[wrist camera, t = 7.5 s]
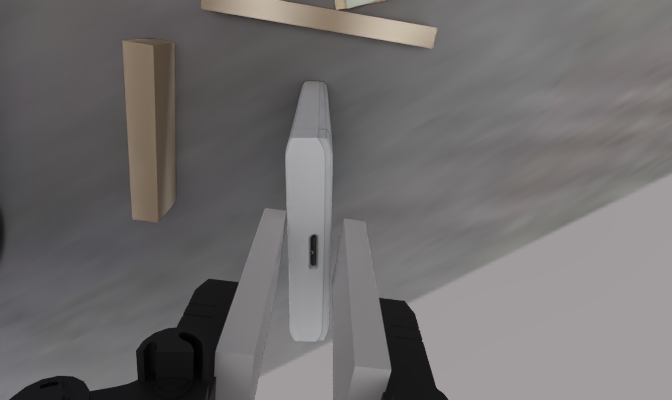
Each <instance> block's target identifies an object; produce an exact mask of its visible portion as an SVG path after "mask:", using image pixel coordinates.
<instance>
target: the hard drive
mask: <svg viewBox="0 0 672 400" xmlns="http://www.w3.org/2000/svg"><path fill="white" fill-rule="evenodd" d="M285 168H286V207H287V238H288V275H289V324H290V333H291V336H292V338H293V339H294V340H295V341H323V340H324V338H325V336H326V334H327V331H328V323H329V298H330V259H331V216H332V175H333V151H332V134H331V123H330V112H329V101H328V90H327V86H326V84H325V82H319V81H305V82H304V84H303V86H302V90H301V94H300V97H299V101H298V105H297V109H296V113H295V117H294V121H293V125H292V129H291V133H290V137H289V140H288V144H287V147H286V154H285Z"/></svg>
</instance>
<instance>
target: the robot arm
mask: <svg viewBox="0 0 672 400" xmlns="http://www.w3.org/2000/svg"><path fill="white" fill-rule="evenodd" d="M286 212H287V211H284V210H277V209H269V208H265V209H264V211H263V214H262V217H261V220H260V223H259V226H258V229H257V232H256V235H255V238H254V241H253V243H252V246H251V249H250V252H249V255H248V258H247V261H246V264H245V267H244V270H243V273H242V275H241V278H240V281H239V282H231V281H223V280H215V279H208V280H207V281H205V282H204V283H203V284H202V285H200V286H199V287H198V288H197V289H196V290H195V292H194V294H193V296H192V298H191V300H190V302H189V305H188V306H187V308H186V310H185V312H184V314H183V317H182V318H181V320H180V322H179V324H178V326H177V328H167V329H165V330H162V331H159V332H156V333H154V334H152V335H151V336H150V337H148V338H147V339H145V340H144V341H143V342H142V343H141V345H140V346H139V348H138V349H137V350H136V356H137V372H138V380H136V381H134V382H131V383H129V384H126V385H122V386H118V387H112V388H106V389H100V390H94V391H89V389H88V387H87V386H86V384H85V383H84V381H82V380H79V379H77V378H75V377H71V376H56V377H51V378H47V379H42V380H40V381H38V382H36V383H33V384H31V385H29V386H27V387H25V388H24V389H22V390H21V391H20V392H18V393H17V394H16V395H15V396H13V397H12V398H11V399H10V400H254V399H255V394H256V389H257V384H258V379H259V374H260V369H261V364H262V358H263V353H264V348H265V343H266V338H267V333H268V328H269V323H270V318H271V313H272V308H273V303H274V298H275V293H276V288H277V283H278V278H279V270H280V262H281V254H282V245H283V237H284V228H285V220H286ZM332 313H333V400H448V398H447V397H446V396H445V395H444V394H443V393H442V392H441V391H439V390H438V389H437V388H436V385H435V382H434V379H433V375H432V371H431V368H430V365H429V361H428V358H427V355H426V351H425V347H424V344H423V342H422V337H421V334H420V330H419V327H418V324H417V320H416V316H415V313H414V312H413V311H412V310H411V309H410V307H409V306H408V305H407V304H406V302H405V301H400V300H392V299H384V298H379V296H378V291H377V285H376V280H375V274H374V268H373V263H372V257H371V251H370V246H369V240H368V234H367V229H366V223H365V221H359V220H351V219H344V221H343V227H342V232H341V237H340V243H339V248H338V253H337V259H336V264H335V270H334V275H333V280H332Z"/></svg>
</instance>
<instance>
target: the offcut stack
mask: <svg viewBox="0 0 672 400" xmlns="http://www.w3.org/2000/svg"><path fill="white" fill-rule="evenodd" d="M334 1H335V7H336V10H340V9H345V8H347V9H349V8H353V7H357V6H361V5H366V4H371V3H376V2H382V1H387V0H334Z"/></svg>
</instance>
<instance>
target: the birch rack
mask: <svg viewBox="0 0 672 400" xmlns="http://www.w3.org/2000/svg"><path fill="white" fill-rule="evenodd" d="M201 9H204V10H210V11H216V12H222V13H228V14H234V15H240V16H245V17H251V18H257V19H263V20H269V21H275V22H280V23H286V24H292V25H298V26H304V27H310V28H316V29H321V30H327V31H333V32H339V33H345V34H351V35H356V36H362V37H368V38H374V39H380V40H386V41H392V42H397V43H403V44H409V45H415V46H421V47H427V48H432V49H433V45H434V40H435V36H436V32H437V28H434V27H429V26H423V25H417V24H412V23H406V22H400V21H394V20H389V19H383V18H377V17H372V16H366V15H360V14H355V13H349V12H343V11H337V10H332V9H326V8H320V7H315V6H309V5H303V4H297V3H292V2H286V1H280V0H201ZM122 44H123V62H124V80H125V97H126V115H127V133H128V151H129V169H130V187H131V205H132V219H134V220H141V221H149V222H157V223H158V222H159V221H160V220H161V219H162V217H163V216H164V215H165V214H166V213H167V212H168V210H169V209H170V208H171V207H172V206H173V205H174V203H175V202H176V145H175V42H169V41H163V40H157V39H151V38H143V39H132V40H122Z"/></svg>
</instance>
